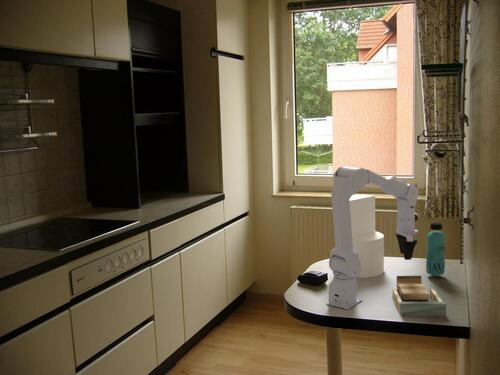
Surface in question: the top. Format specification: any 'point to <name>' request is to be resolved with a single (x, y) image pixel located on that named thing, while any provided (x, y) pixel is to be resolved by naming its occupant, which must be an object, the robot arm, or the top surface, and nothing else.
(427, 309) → the pale green tray
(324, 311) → the top surface
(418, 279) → the small wooden block
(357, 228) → the white tall stepped piece
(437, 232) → the beverage bottle
